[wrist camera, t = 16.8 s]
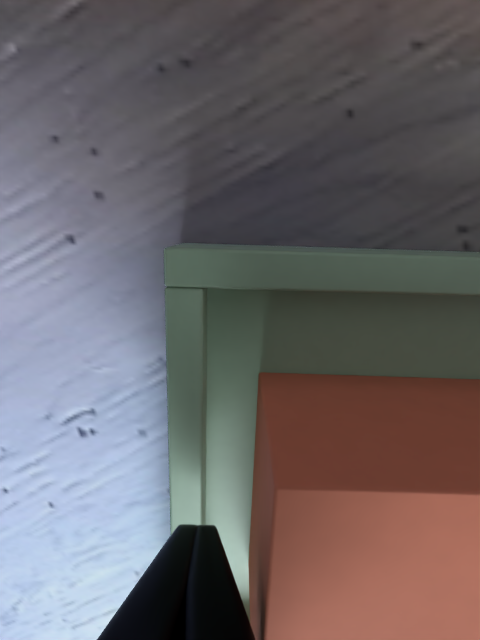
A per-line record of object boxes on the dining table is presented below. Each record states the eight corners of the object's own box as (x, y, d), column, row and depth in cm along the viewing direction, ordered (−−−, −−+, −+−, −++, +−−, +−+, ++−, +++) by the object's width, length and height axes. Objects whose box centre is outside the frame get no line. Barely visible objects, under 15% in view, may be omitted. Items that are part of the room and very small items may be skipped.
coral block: (619, 382, 9) (913, 504, 5) (555, 571, 10) (743, 776, 7) (258, 371, 9) (274, 486, 5) (248, 564, 10) (253, 767, 6)
